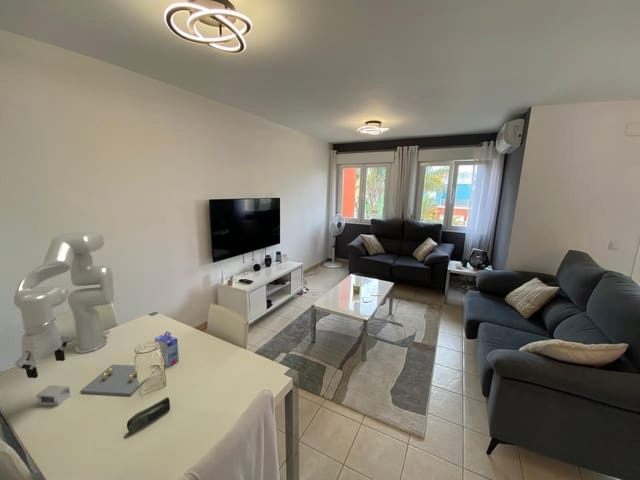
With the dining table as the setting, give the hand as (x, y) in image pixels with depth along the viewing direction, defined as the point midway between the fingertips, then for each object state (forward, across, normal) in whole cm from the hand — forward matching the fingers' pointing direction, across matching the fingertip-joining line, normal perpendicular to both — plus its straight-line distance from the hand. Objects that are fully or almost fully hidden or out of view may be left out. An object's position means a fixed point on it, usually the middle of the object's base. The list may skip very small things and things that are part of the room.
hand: (47, 368), depth 98 cm
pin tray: (+14, -13, +16) cm, 26 cm away
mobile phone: (+16, +6, +42) cm, 45 cm away
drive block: (+15, -1, 0) cm, 15 cm away
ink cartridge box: (+14, -27, +28) cm, 42 cm away
